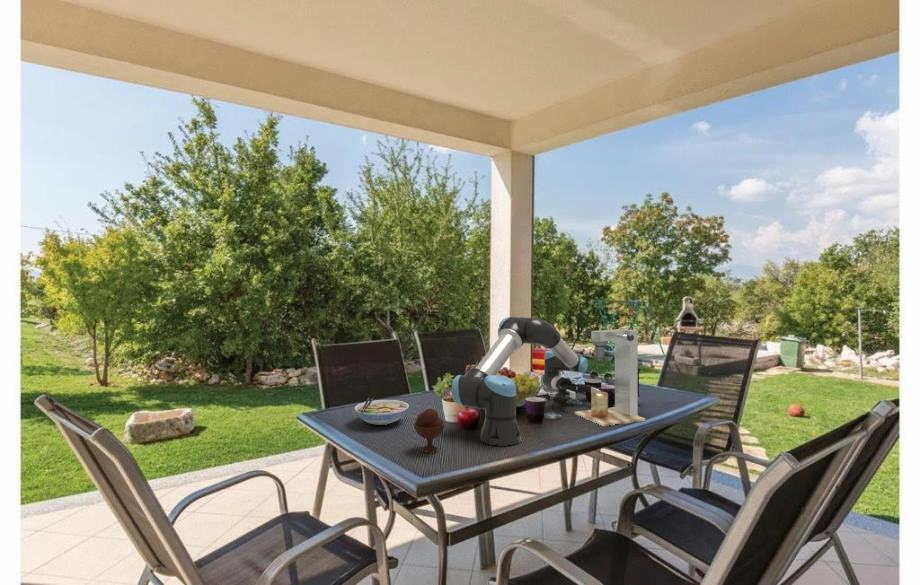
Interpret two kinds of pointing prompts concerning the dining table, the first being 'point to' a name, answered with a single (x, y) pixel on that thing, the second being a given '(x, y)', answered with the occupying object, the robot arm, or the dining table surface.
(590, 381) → the coffee mug
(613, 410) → the plate
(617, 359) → the press frame
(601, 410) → the cream pillar candle
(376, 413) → the ramen bowl
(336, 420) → the dining table surface
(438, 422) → the ice cream bowl
